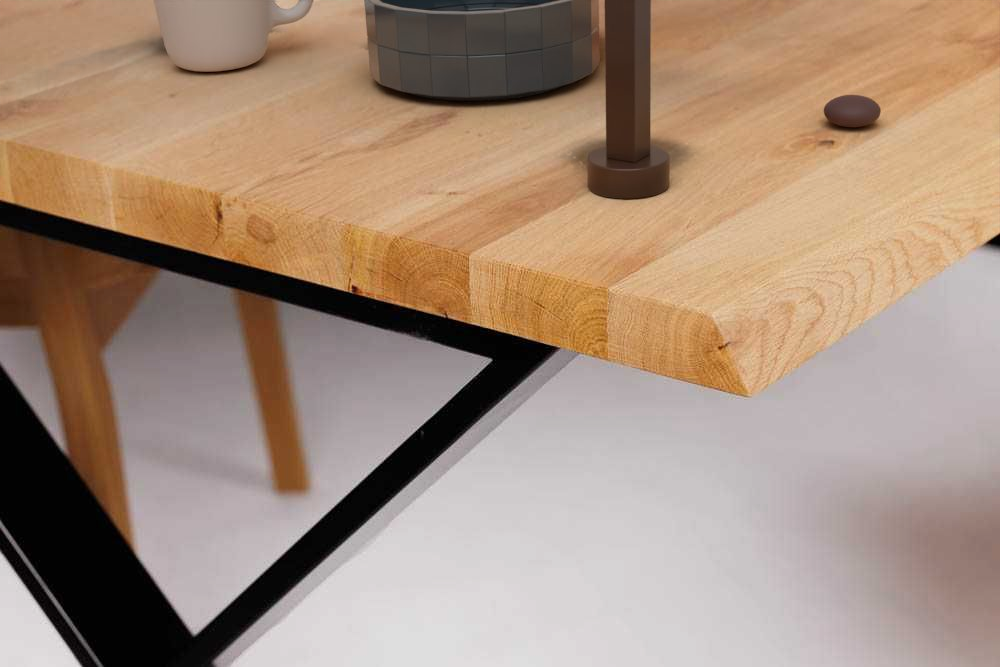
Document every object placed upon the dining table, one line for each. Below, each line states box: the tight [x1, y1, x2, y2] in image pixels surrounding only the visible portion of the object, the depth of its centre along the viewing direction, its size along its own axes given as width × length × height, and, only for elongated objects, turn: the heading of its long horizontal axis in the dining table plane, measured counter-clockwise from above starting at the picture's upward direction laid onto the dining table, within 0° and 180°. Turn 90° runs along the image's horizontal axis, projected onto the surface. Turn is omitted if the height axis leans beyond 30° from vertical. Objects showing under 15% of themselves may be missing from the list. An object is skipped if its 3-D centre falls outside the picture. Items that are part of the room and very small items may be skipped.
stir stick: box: [586, 0, 671, 200], centre depth 68 cm, size 4×4×11 cm
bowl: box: [363, 0, 601, 102], centre depth 89 cm, size 14×14×6 cm
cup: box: [153, 0, 314, 73], centre depth 95 cm, size 11×8×8 cm
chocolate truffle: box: [823, 94, 882, 128], centre depth 78 cm, size 3×3×2 cm
